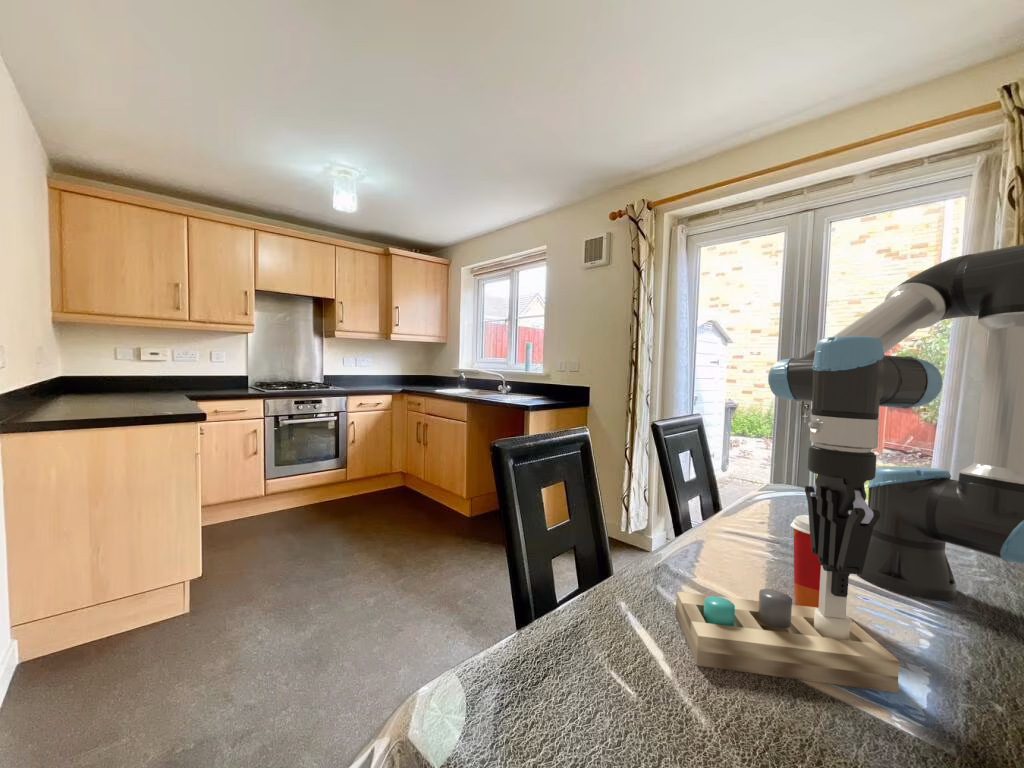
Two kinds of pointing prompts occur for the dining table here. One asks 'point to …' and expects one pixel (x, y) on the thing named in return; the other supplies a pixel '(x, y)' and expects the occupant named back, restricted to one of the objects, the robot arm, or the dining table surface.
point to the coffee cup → (805, 565)
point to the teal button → (718, 611)
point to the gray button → (775, 608)
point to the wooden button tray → (785, 647)
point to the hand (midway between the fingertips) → (831, 614)
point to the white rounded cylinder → (831, 626)
